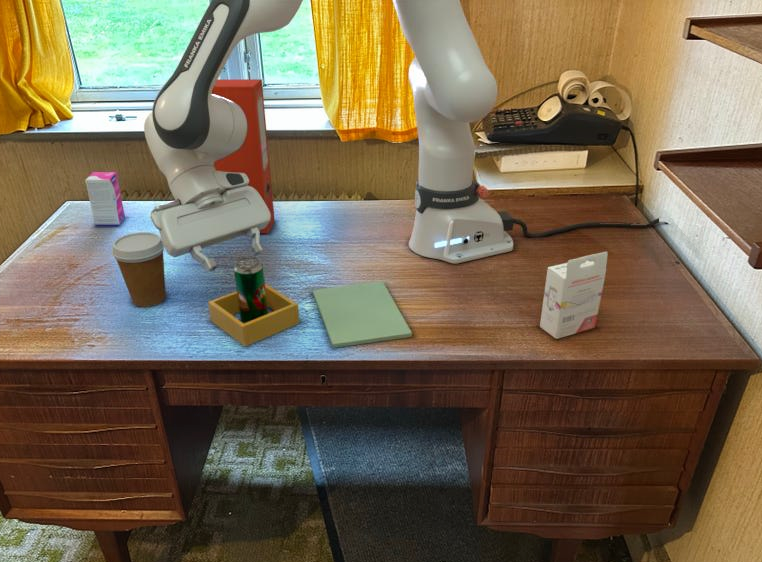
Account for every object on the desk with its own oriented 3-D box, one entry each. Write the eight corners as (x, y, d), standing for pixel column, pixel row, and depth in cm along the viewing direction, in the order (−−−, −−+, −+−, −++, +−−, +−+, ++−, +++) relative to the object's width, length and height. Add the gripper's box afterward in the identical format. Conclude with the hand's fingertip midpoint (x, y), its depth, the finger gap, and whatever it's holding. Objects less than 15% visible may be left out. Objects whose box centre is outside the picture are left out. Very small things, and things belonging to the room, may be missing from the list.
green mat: (382, 284, 133) (382, 280, 133) (412, 336, 117) (412, 332, 117) (312, 293, 131) (312, 289, 130) (332, 348, 115) (332, 344, 114)
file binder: (204, 219, 163) (183, 78, 145) (274, 220, 161) (261, 78, 143) (194, 232, 156) (170, 87, 138) (267, 234, 155) (252, 87, 137)
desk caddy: (264, 300, 129) (262, 281, 127) (299, 323, 122) (298, 304, 119) (210, 321, 123) (207, 301, 121) (245, 346, 116) (242, 327, 113)
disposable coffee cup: (161, 313, 126) (149, 254, 119) (114, 309, 128) (100, 250, 121) (182, 289, 134) (171, 232, 127) (137, 285, 135) (125, 229, 129)
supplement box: (119, 226, 160) (108, 179, 154) (94, 227, 161) (83, 180, 154) (126, 217, 165) (116, 171, 159) (102, 217, 165) (91, 171, 159)
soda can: (237, 318, 124) (229, 259, 117) (264, 312, 125) (257, 253, 118) (245, 332, 120) (237, 271, 113) (272, 325, 121) (266, 265, 115)
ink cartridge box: (577, 315, 122) (591, 240, 113) (595, 328, 118) (611, 251, 110) (537, 326, 119) (549, 249, 111) (555, 340, 115) (568, 261, 107)
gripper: (149, 199, 112) (187, 272, 111) (253, 171, 122) (288, 238, 122) (142, 217, 117) (178, 287, 116) (243, 188, 128) (276, 252, 127)
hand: (235, 261), depth 119 cm, fingers open, 8 cm apart
